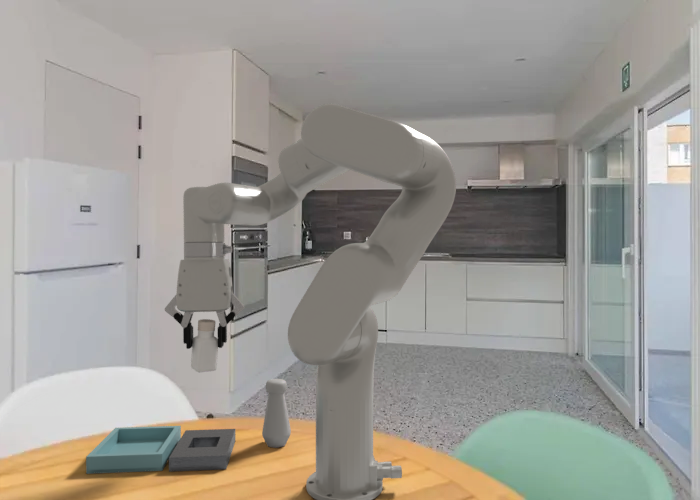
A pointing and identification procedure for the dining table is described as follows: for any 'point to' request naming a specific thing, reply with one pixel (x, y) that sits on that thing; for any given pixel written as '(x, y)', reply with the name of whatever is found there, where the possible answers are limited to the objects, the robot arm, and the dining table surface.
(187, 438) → the socket block
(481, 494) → the dining table surface
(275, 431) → the salt shaker
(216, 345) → the pepper shaker
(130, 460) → the tray
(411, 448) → the dining table surface
